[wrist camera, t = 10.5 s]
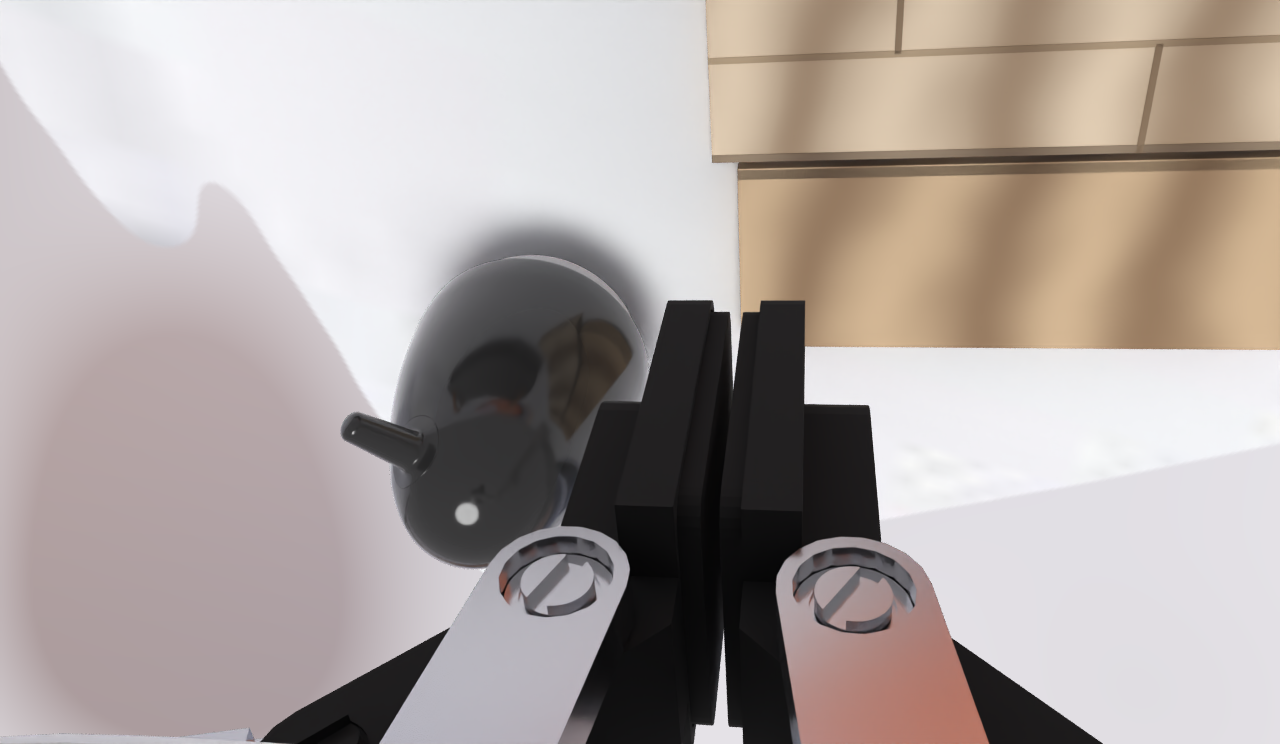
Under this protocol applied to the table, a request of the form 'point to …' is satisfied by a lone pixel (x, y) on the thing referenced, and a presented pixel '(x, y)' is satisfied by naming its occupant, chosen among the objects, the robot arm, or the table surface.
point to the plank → (1019, 249)
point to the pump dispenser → (501, 403)
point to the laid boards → (990, 78)
